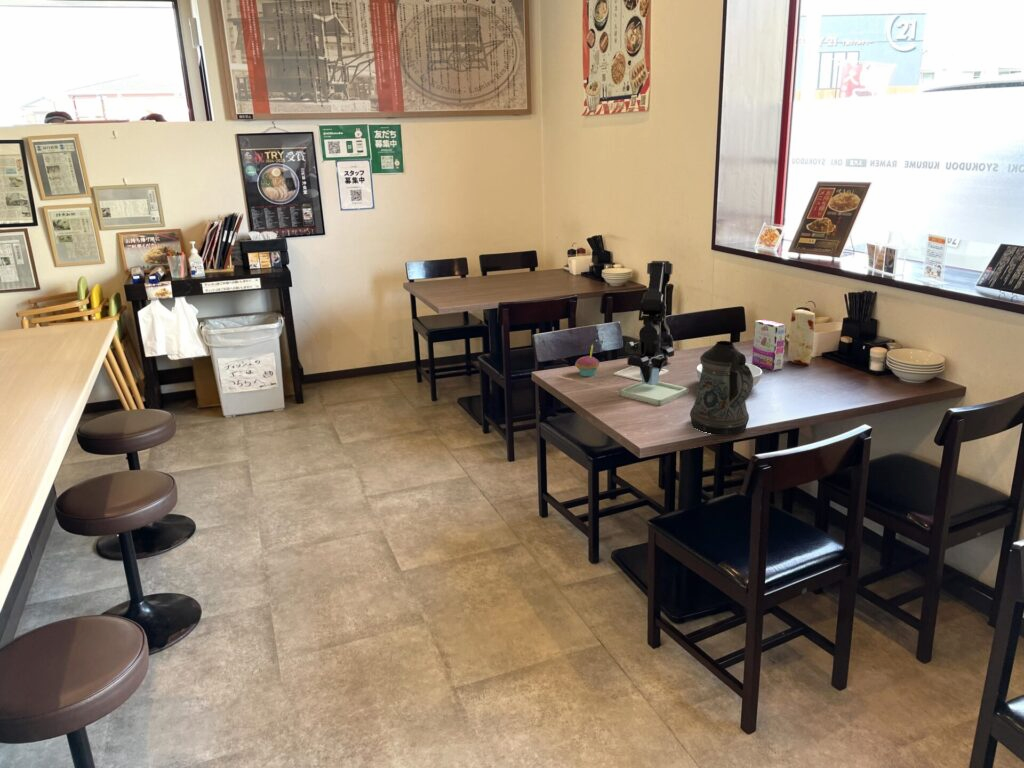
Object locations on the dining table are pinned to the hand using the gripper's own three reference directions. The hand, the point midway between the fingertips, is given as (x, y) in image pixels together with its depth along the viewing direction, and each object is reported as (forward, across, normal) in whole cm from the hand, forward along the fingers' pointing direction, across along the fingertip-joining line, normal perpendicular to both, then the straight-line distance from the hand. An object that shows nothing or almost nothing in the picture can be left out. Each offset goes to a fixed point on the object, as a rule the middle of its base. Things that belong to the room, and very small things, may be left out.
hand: (650, 380), depth 249 cm
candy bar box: (+4, -49, +17) cm, 52 cm away
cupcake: (+4, +1, -26) cm, 27 cm away
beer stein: (+3, +14, +36) cm, 38 cm away
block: (+1, 0, 0) cm, 1 cm away
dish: (+3, -12, -12) cm, 18 cm away
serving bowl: (+4, -18, +19) cm, 26 cm away
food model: (+4, -60, +24) cm, 64 cm away
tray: (+3, +3, +4) cm, 6 cm away
